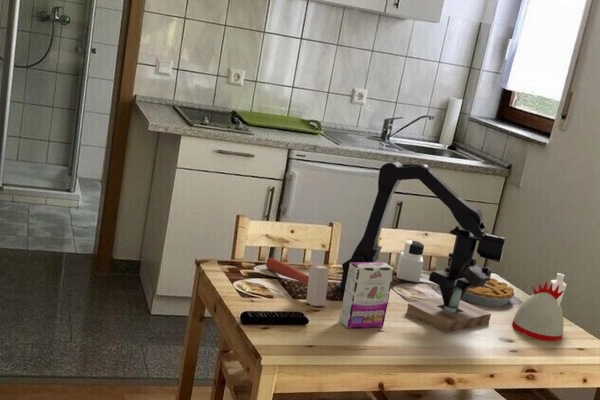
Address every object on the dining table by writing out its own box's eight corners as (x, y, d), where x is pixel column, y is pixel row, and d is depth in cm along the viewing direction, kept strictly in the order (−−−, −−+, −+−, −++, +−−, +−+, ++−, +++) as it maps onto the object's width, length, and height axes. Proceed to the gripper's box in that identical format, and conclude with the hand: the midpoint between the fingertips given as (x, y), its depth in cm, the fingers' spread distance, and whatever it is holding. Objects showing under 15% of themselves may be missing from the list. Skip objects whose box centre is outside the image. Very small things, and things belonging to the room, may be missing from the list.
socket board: (446, 333, 202) (448, 323, 201) (406, 313, 212) (408, 303, 211) (488, 323, 216) (491, 313, 215) (449, 305, 226) (451, 295, 225)
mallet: (266, 248, 228) (319, 267, 202) (276, 248, 230) (330, 267, 204) (262, 283, 229) (314, 307, 203) (273, 283, 231) (326, 306, 205)
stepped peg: (450, 319, 211) (456, 292, 209) (438, 313, 214) (444, 286, 212) (459, 317, 214) (465, 290, 212) (447, 311, 216) (453, 285, 215)
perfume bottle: (556, 321, 229) (569, 274, 226) (556, 325, 225) (569, 278, 221) (540, 317, 230) (553, 270, 227) (540, 321, 226) (552, 273, 223)
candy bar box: (373, 320, 202) (385, 261, 199) (383, 327, 198) (396, 268, 195) (337, 321, 197) (349, 261, 193) (347, 329, 193) (359, 267, 189)
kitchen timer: (560, 346, 209) (574, 295, 205) (510, 331, 213) (522, 281, 210) (562, 330, 221) (575, 282, 218) (514, 317, 226) (526, 269, 222)
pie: (429, 287, 240) (432, 272, 239) (467, 280, 256) (471, 266, 255) (487, 313, 226) (491, 297, 225) (525, 304, 241) (528, 289, 240)
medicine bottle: (417, 276, 249) (425, 241, 246) (419, 283, 242) (427, 247, 239) (396, 272, 249) (403, 237, 247) (396, 278, 242) (404, 242, 240)
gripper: (467, 264, 198) (454, 320, 201) (506, 259, 210) (493, 312, 214) (433, 251, 205) (421, 305, 209) (473, 246, 218) (461, 297, 222)
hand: (450, 305), depth 213 cm, fingers closed on stepped peg, 4 cm apart
